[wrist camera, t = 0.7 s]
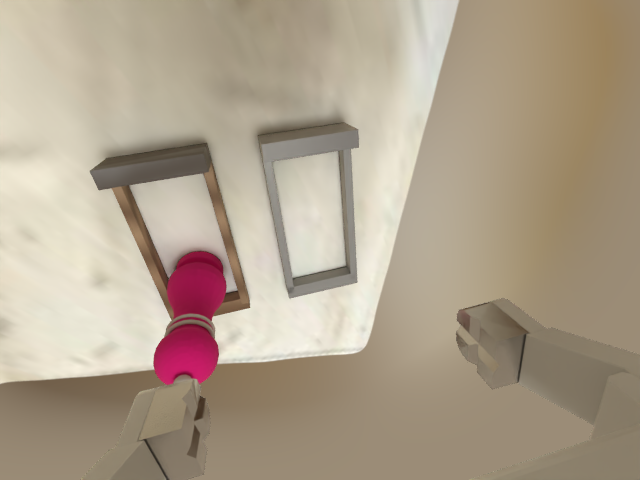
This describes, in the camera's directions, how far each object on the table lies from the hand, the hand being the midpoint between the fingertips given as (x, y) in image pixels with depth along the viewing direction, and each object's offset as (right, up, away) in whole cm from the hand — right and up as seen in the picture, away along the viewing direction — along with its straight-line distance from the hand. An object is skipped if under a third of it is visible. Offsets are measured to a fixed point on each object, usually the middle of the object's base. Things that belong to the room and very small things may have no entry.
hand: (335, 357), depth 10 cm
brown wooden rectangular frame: (-18, +4, +33) cm, 38 cm away
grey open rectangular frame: (-2, +7, +36) cm, 36 cm away
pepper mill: (-18, -1, +36) cm, 40 cm away
